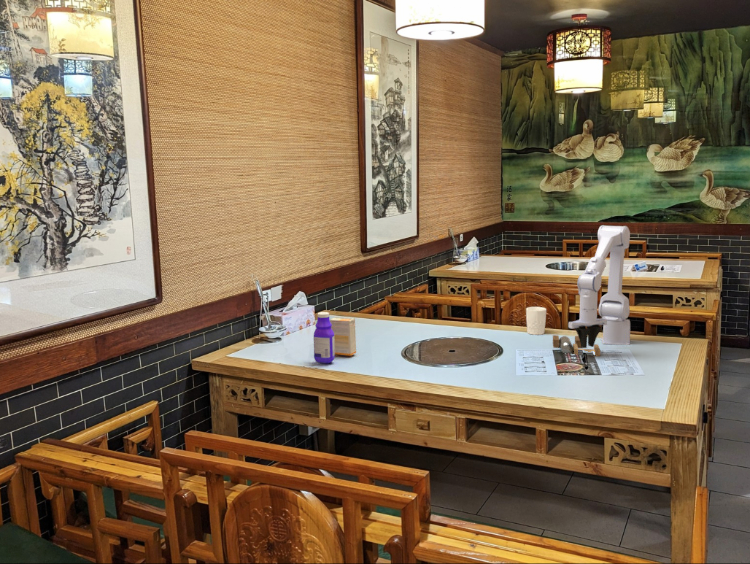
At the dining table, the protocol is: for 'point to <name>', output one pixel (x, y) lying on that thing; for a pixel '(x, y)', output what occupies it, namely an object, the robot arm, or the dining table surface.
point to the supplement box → (344, 335)
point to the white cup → (535, 320)
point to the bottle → (324, 339)
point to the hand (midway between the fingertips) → (587, 346)
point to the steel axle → (565, 345)
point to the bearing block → (556, 341)
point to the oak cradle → (596, 349)
